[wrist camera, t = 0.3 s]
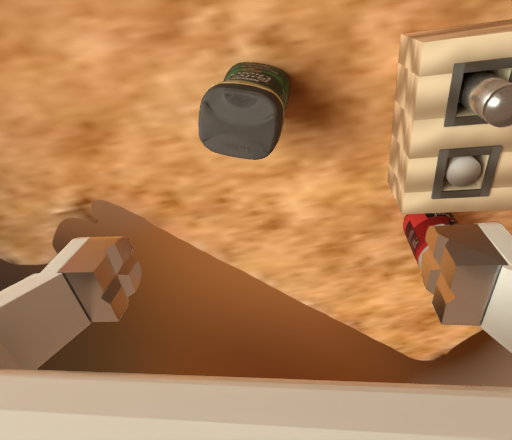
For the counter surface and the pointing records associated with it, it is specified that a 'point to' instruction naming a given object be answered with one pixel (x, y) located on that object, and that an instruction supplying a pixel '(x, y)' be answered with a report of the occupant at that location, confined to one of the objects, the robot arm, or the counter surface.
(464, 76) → the peg
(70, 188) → the counter surface
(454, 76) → the socket block
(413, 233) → the canned food
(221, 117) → the coffee jar
